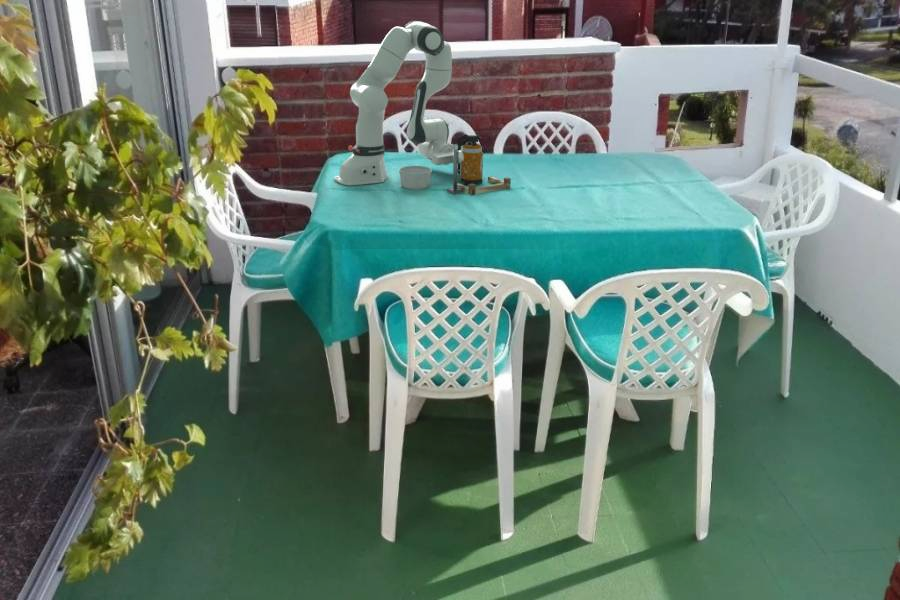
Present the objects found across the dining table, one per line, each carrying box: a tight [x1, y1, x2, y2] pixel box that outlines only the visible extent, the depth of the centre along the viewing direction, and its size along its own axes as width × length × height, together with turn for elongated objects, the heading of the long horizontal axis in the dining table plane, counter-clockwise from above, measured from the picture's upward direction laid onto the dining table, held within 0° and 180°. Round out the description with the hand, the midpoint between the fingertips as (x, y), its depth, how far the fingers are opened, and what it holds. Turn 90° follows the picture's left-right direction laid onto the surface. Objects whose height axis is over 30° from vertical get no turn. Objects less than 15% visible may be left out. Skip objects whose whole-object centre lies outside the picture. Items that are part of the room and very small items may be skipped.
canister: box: [455, 133, 484, 186], centre depth 343 cm, size 9×11×20 cm
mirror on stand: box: [445, 149, 465, 195], centre depth 331 cm, size 6×5×17 cm
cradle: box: [457, 175, 512, 196], centre depth 339 cm, size 13×20×4 cm, turn 125°
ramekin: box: [398, 165, 433, 191], centre depth 341 cm, size 13×13×7 cm
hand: (463, 160), depth 347 cm, fingers closed, pressing on canister
